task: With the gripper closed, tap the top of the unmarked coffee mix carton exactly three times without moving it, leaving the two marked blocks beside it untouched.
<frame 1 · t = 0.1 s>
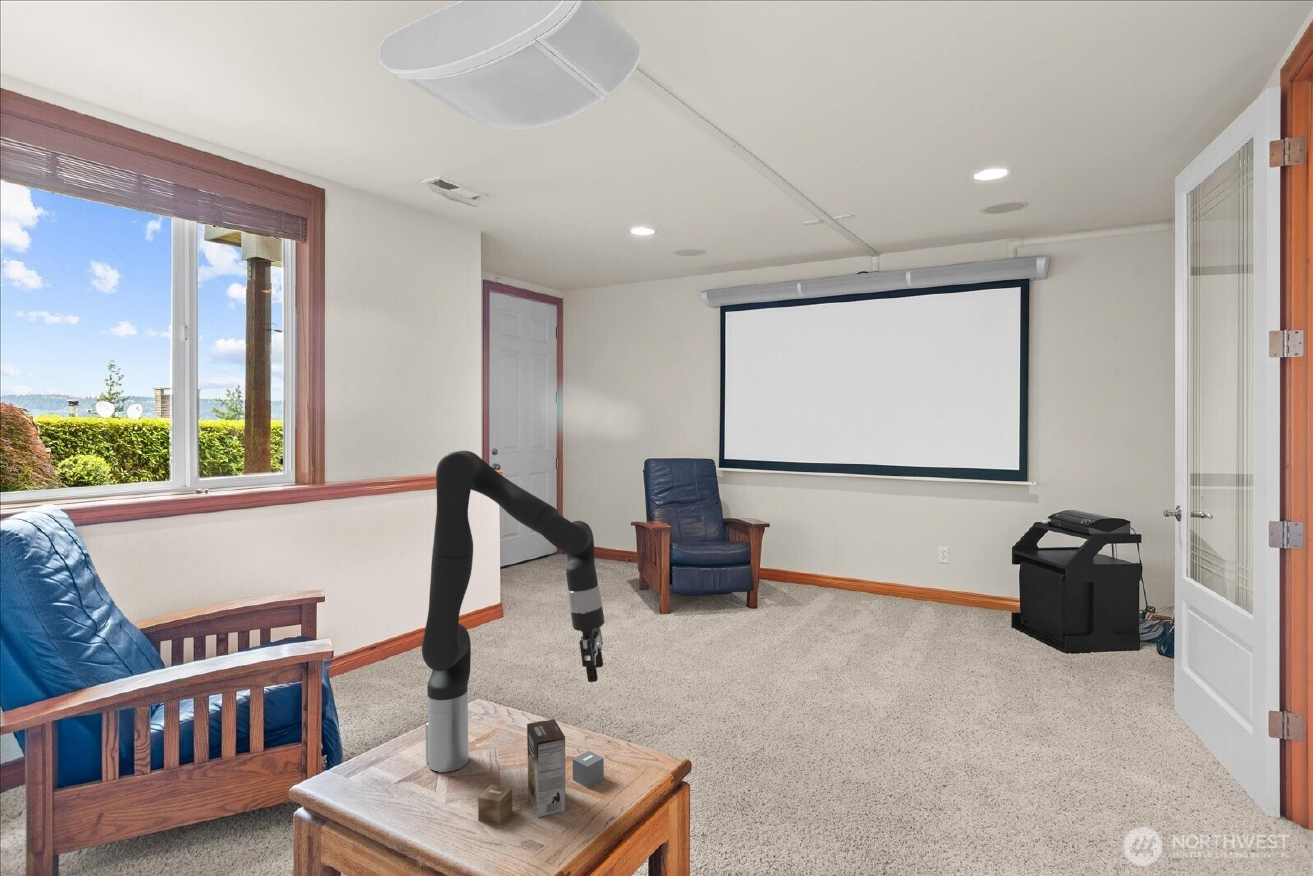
hand: (596, 674, 155), 22 cm above the table, tool pointing down, fingers open, 8 cm apart
walnut block: (495, 816, 137), on the table
coffee box: (546, 804, 141), on the table
slate block: (588, 780, 150), on the table
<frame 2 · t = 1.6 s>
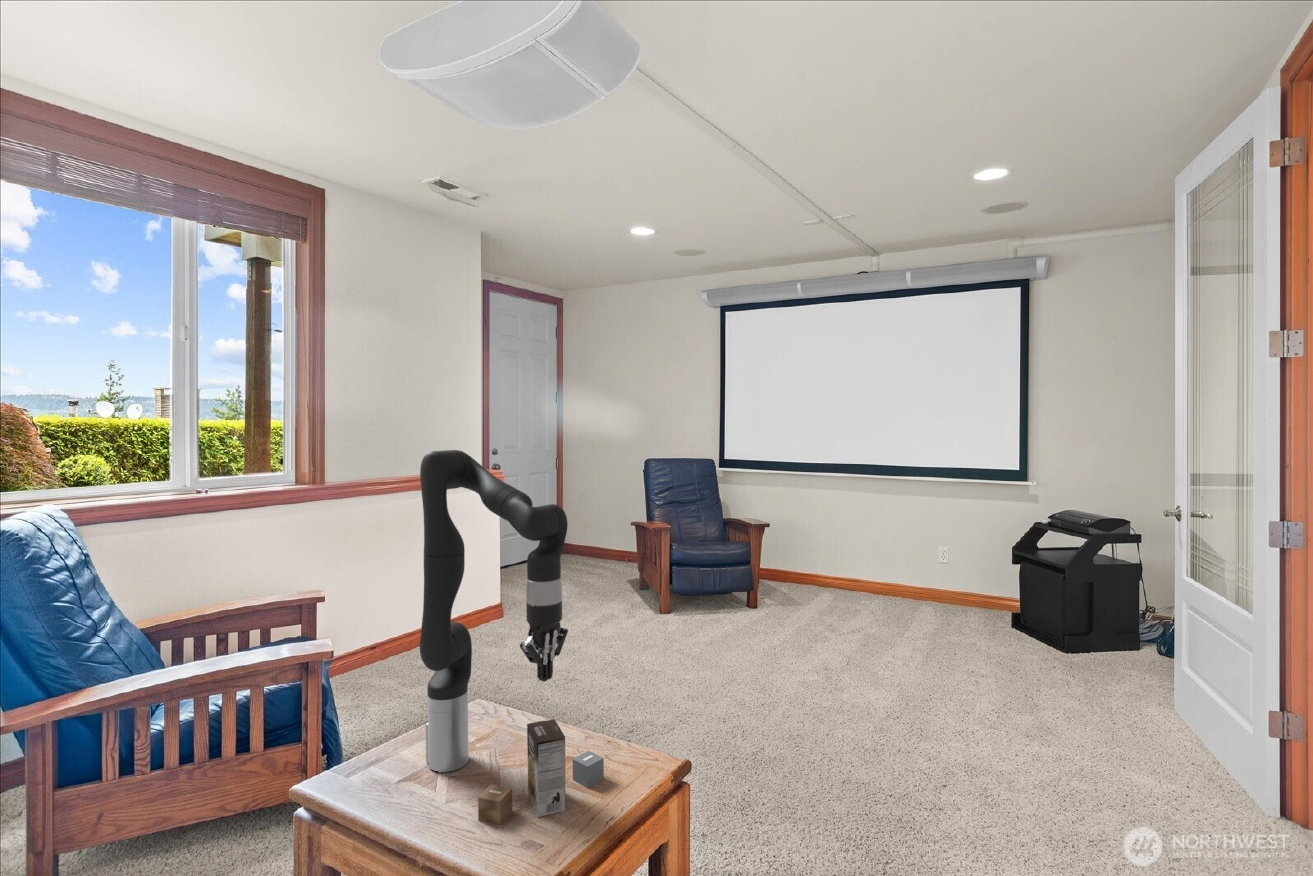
hand: (545, 679, 140), 27 cm above the table, tool pointing down, fingers closed
nothing on the table moved.
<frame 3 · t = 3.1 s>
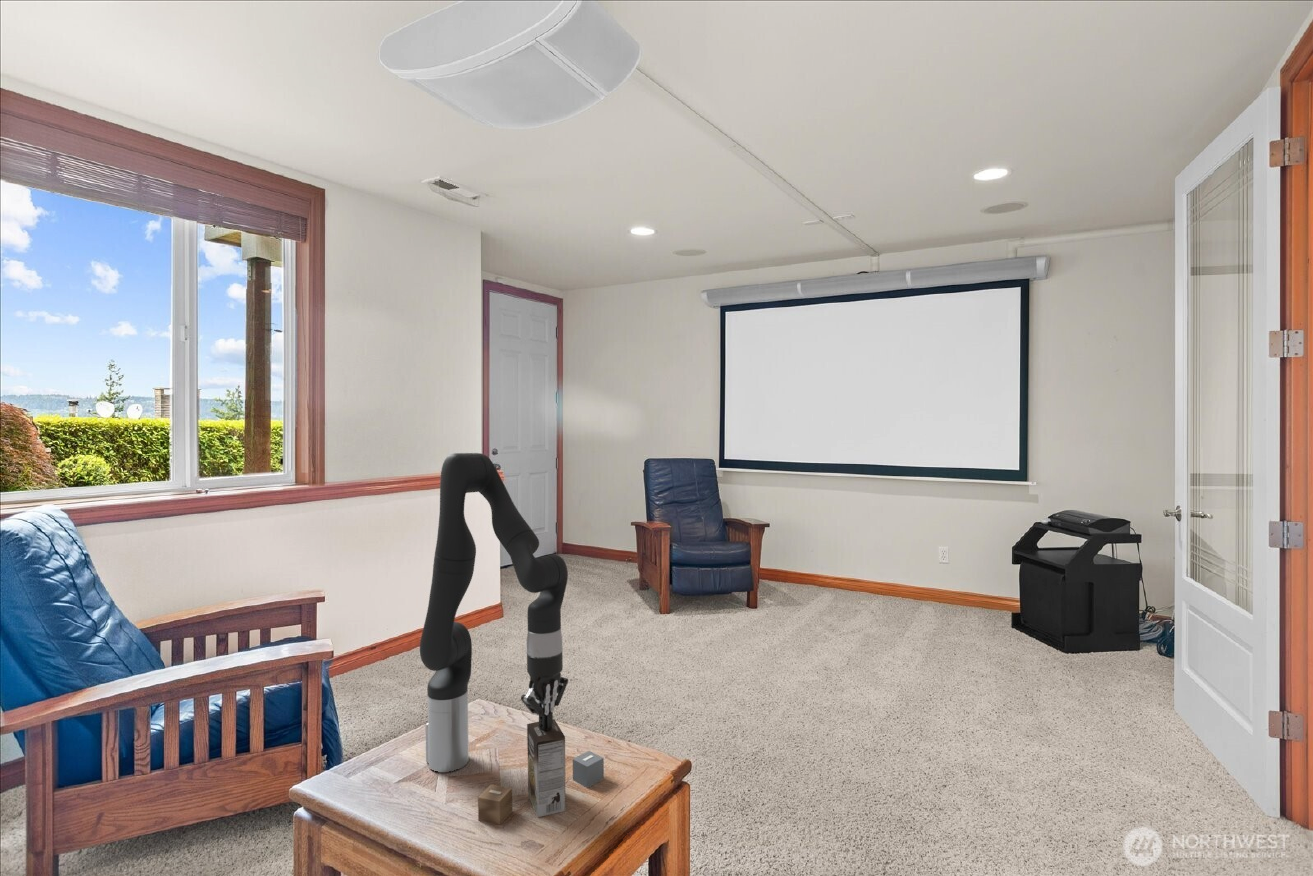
hand: (545, 729, 141), 16 cm above the table, tool pointing down, fingers closed
coffee box: (546, 804, 141), on the table, touching gripper
everything else where it was.
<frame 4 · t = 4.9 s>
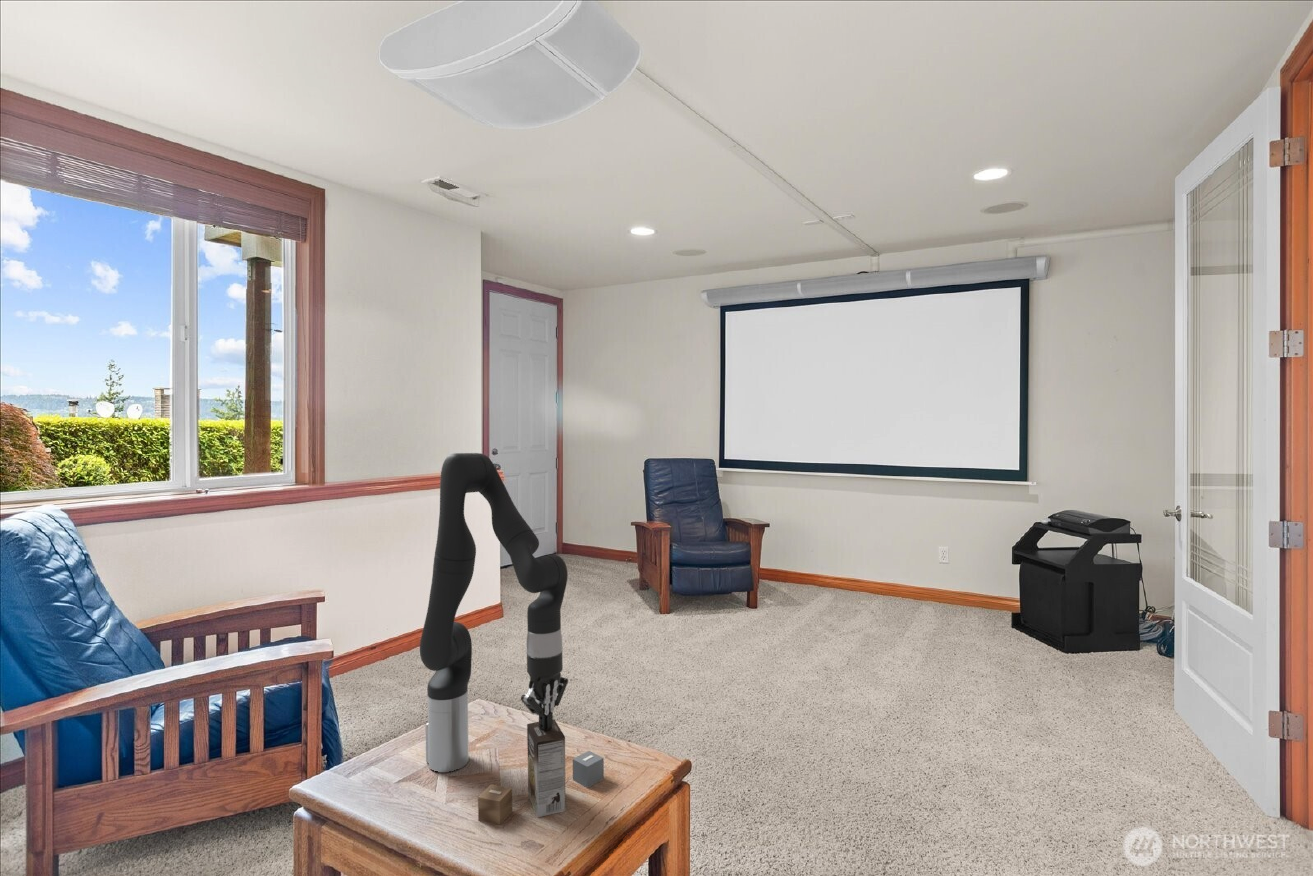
hand: (545, 729, 141), 16 cm above the table, tool pointing down, fingers closed
nothing on the table moved.
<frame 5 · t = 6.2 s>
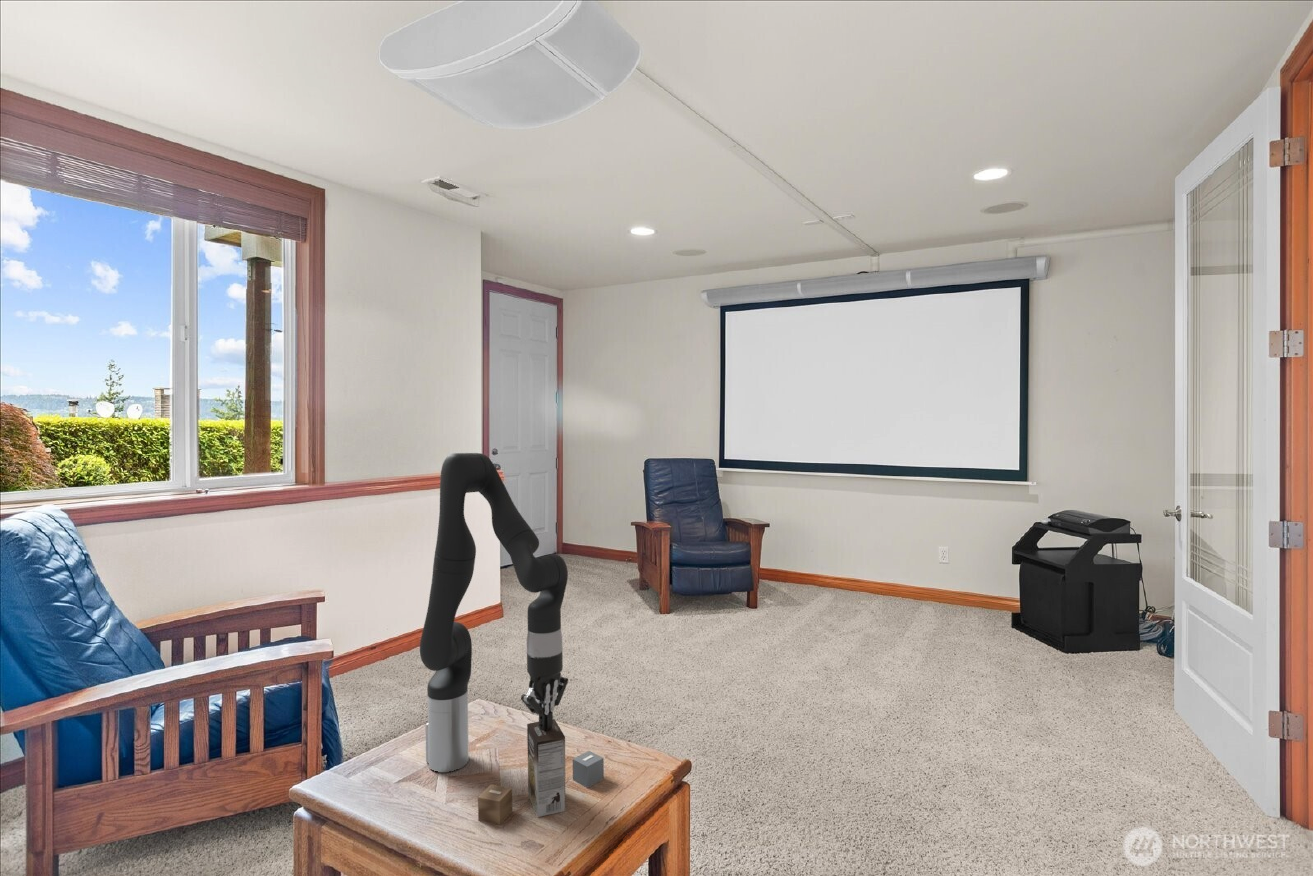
hand: (545, 729, 141), 16 cm above the table, tool pointing down, fingers closed
coffee box: (546, 804, 141), on the table
everything else where it was.
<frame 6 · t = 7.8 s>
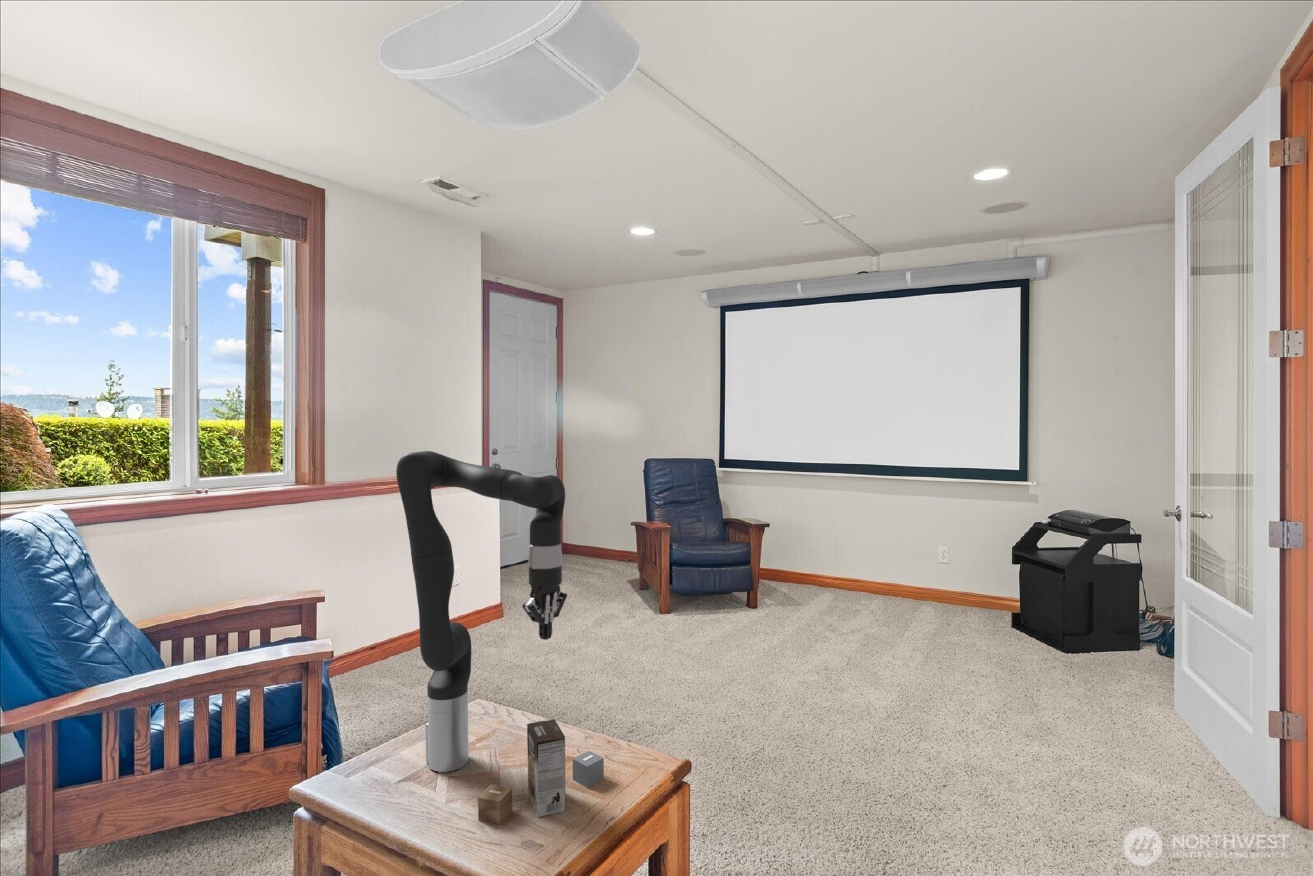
hand: (545, 638, 150), 32 cm above the table, tool pointing down, fingers closed
nothing on the table moved.
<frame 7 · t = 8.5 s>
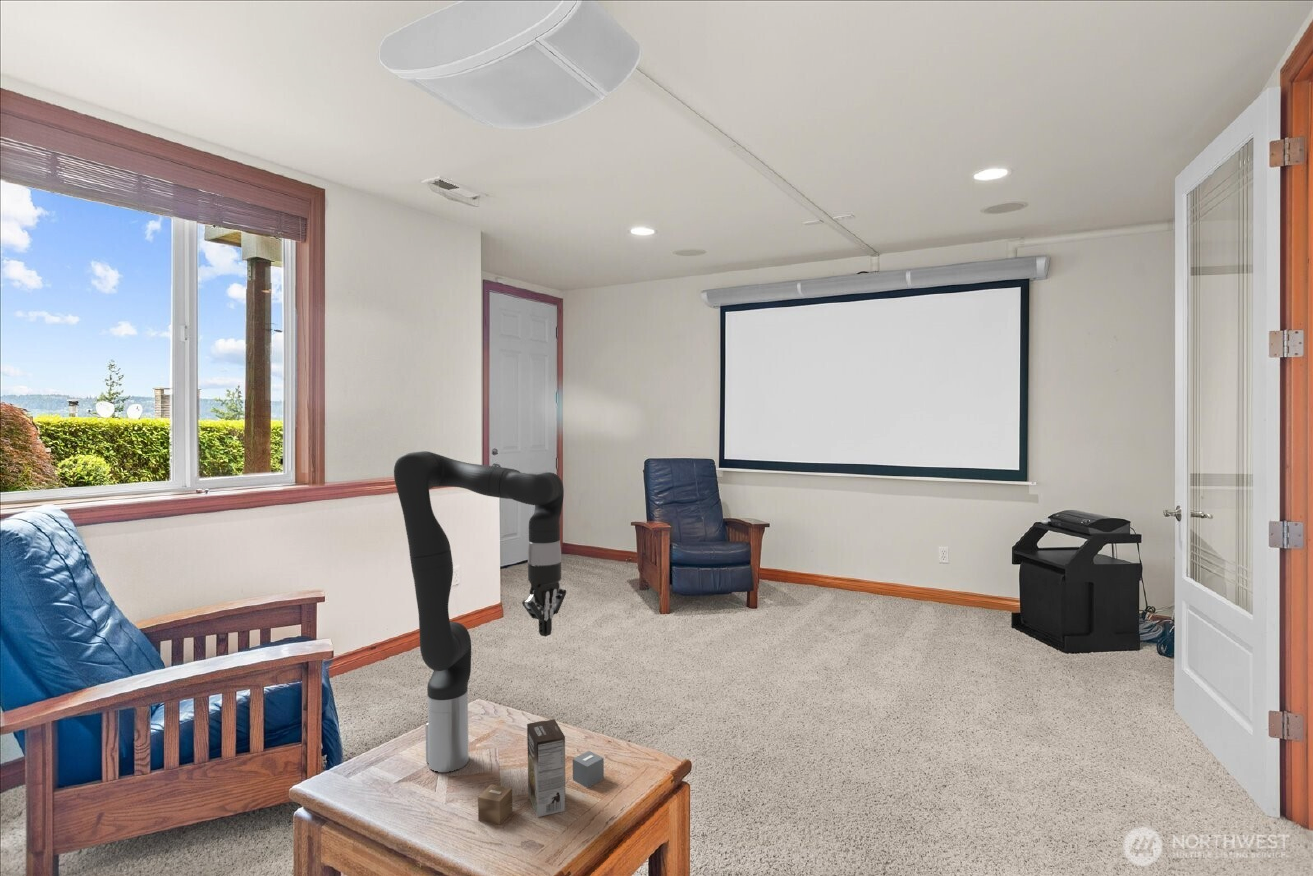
hand: (545, 635, 151), 33 cm above the table, tool pointing down, fingers closed
nothing on the table moved.
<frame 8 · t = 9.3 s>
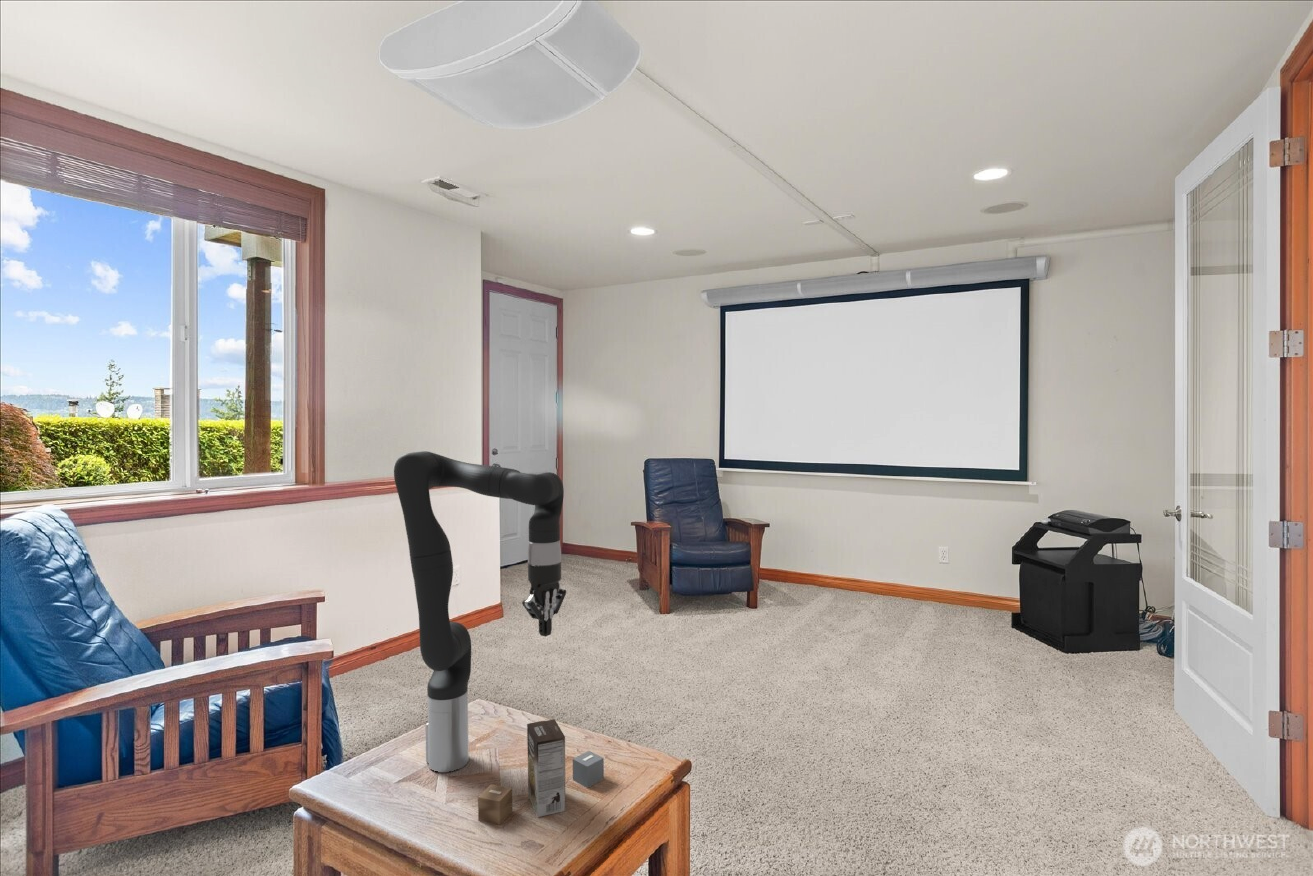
hand: (545, 635, 151), 33 cm above the table, tool pointing down, fingers closed
nothing on the table moved.
at the end: coffee box moved 0.2 cm from its start; coffee box tilted 0°; the gripper is holding nothing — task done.
